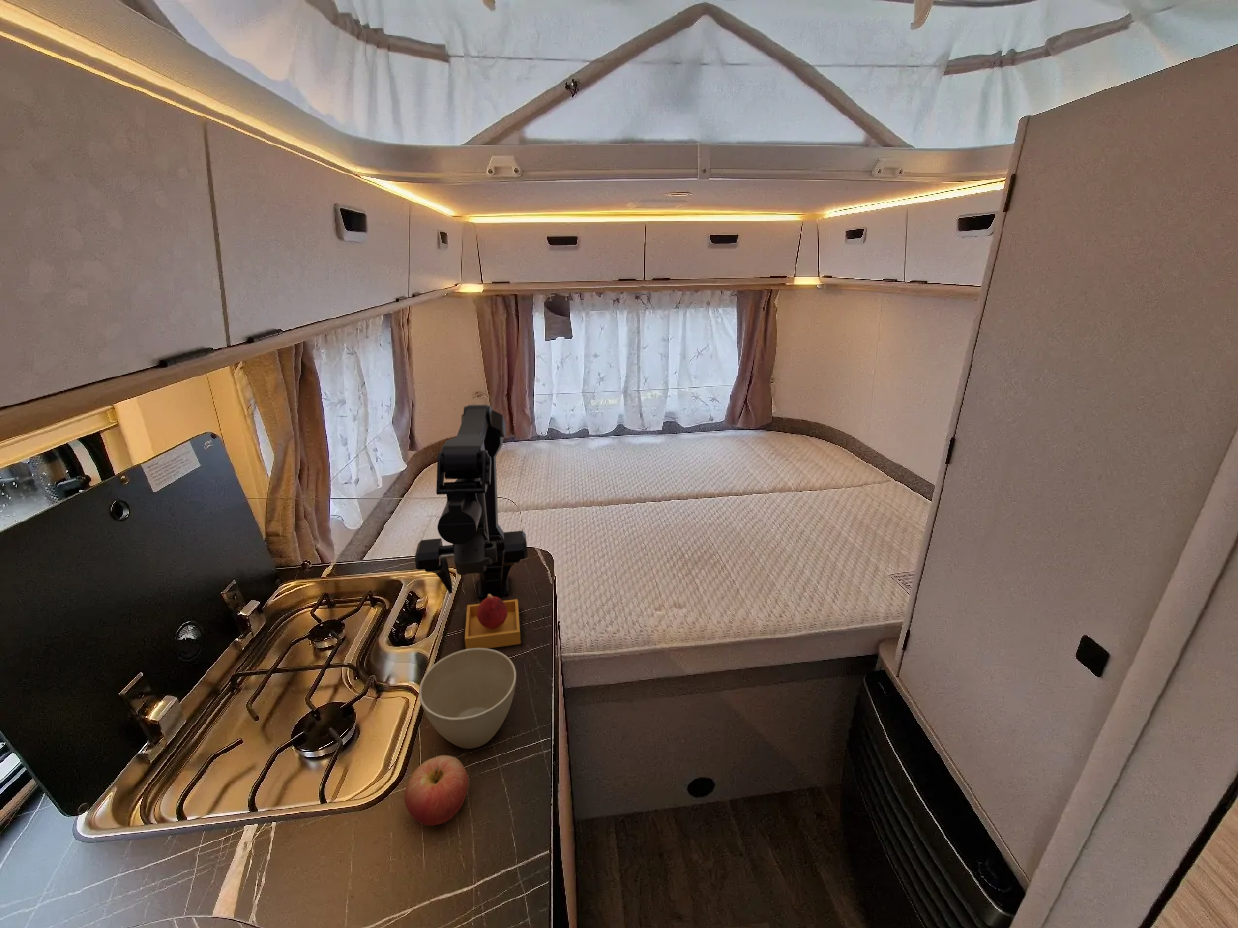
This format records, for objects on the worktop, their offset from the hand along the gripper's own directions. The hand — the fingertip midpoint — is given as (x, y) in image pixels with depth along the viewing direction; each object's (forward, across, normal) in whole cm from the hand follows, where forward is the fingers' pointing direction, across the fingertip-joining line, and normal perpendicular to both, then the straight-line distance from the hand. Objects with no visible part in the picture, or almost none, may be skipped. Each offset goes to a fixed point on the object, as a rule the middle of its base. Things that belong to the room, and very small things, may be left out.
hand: (477, 589), depth 94 cm
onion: (+13, +2, +4) cm, 13 cm away
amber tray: (+13, +2, +4) cm, 14 cm away
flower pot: (+13, -1, -19) cm, 23 cm away
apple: (+13, -5, -31) cm, 34 cm away
